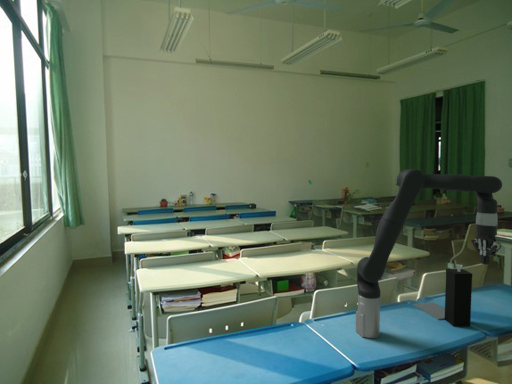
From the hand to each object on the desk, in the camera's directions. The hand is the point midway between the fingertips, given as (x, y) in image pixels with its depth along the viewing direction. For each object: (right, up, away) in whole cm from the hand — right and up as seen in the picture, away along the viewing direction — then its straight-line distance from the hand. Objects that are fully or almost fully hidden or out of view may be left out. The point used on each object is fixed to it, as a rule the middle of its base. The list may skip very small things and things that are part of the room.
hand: (484, 264), depth 146 cm
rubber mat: (-6, -30, +29) cm, 42 cm away
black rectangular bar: (-3, -31, +16) cm, 35 cm away
